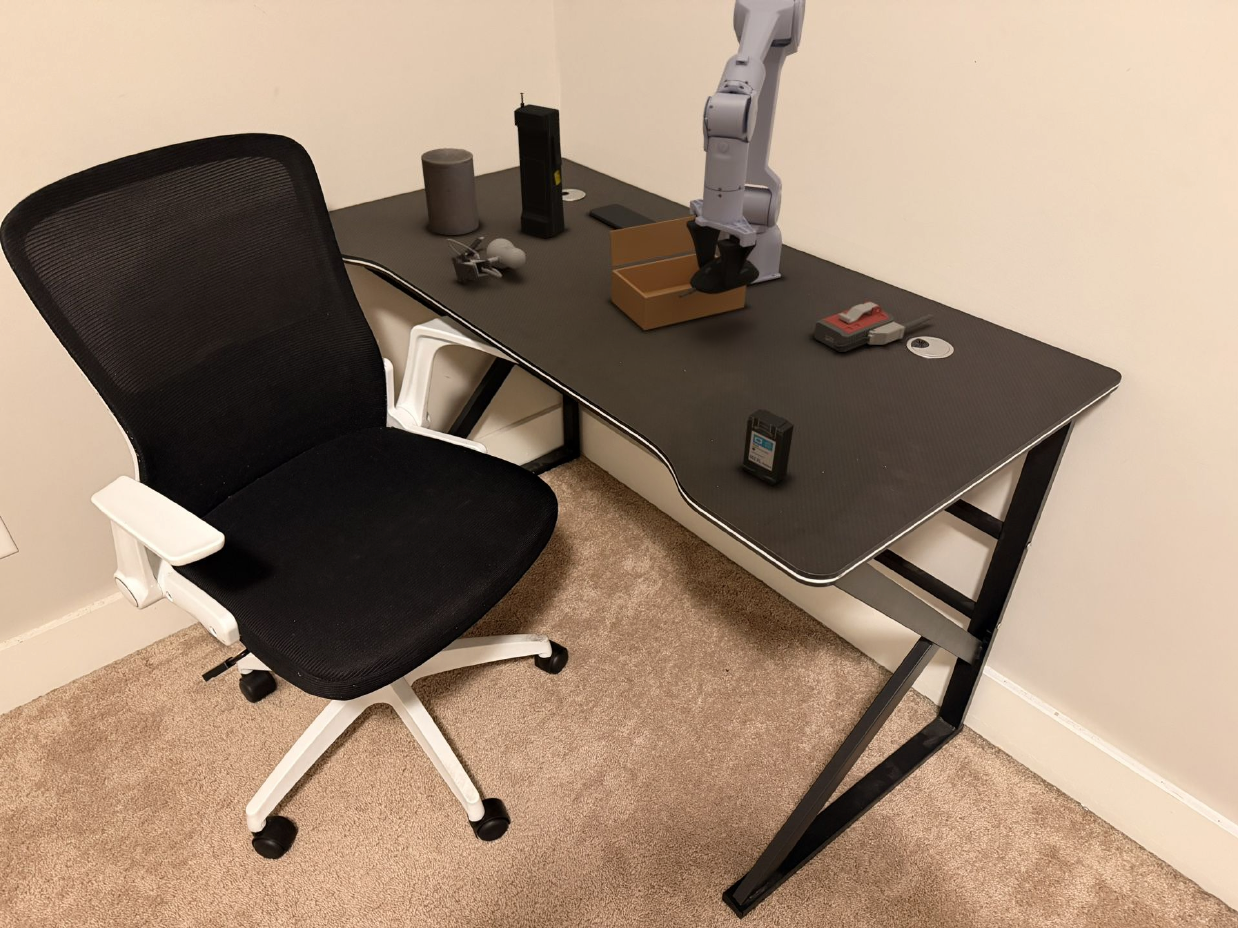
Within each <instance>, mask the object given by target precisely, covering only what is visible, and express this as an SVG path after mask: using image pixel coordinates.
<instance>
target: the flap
mask: <svg viewBox="0 0 1238 928" xmlns="http://www.w3.org/2000/svg"><path fill="white" fill-rule="evenodd" d="M695 216H696V215H690V216H687V217H681V218H676V219H670V220H664V221H658V222H657V223H653V224H647V225H642V226H636V227H630V228H625V229H615V230H610V231H609V243H610V244H609V245H610V263H611V267H616V266H622V265H627V264H632V263H637V262H642V261H647V260H652V259H657V258H662V257H667V256H671V255H672V256H673V255H677V254H683V253H687V252H692V251H695V246H694V243H693V239H692V237H691V234H690V232H689V230H688V228H687V226H686V223H687V221H690V220H694V218H695Z"/></svg>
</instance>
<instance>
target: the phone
mask: <svg viewBox="0 0 1238 928" xmlns="http://www.w3.org/2000/svg"><path fill="white" fill-rule="evenodd" d="M589 215H590V216H591V217H594V218H596V219H598V220H599V221H601V222H604V223H606V224H607V225H610V226H611V227H614V228H615V229H616V230H619V229H625V228H630V227H636V226H642V225H647V224H653V223H658V222H657V221H655V220H653V219H651V218H649V217H648V216H644V215H642V214H641V213H638V212H636V211H634V210H632V209H630V208H628V207H626V206H624V205H622V204H620V203H612V204H608V205H603V206H598V207H595V208H591V209H589Z"/></svg>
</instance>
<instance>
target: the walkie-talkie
mask: <svg viewBox="0 0 1238 928" xmlns="http://www.w3.org/2000/svg"><path fill="white" fill-rule="evenodd" d="M933 319H934V316H933V314H931V313H928V314H926V315H924V316H921V317H919V318H916V319H914V320H911V321H909V322H905V323H900V324H899V323H897V322H896V321H895V317H894V316H893V314H890V313H889V312H887V311H884V310H883V308H882V306H881V305H878V304H876V303H874V302H872V301H870V300H868V301H865V302H863V303H860V304H856V305H854V306H852V307H851V308H848V309H845V310H842V311H840V312H838V313H835V314H832V315H829V316H826V317H823V318H820V319H819V320H816V322H815V328H814V333H813V338H814V339H815V340H817V341H819V342H820V343H822V344H824V345H826V346H828V347H829V348H832V349H833V350H835V351H837V352H840V353H841V352H842V353H845V352H848V351H851V350H853V349H856V348H858V347H861V346H863V345H866V344H868V345H886V344H888V343H892V342H893V341H896V340H901V339H903V337H904V334H905V332H907V331H908V330H911V329H914V328H917V327H918V326H921V325H923V324H924V323H927V322H928V321H930V320H933Z"/></svg>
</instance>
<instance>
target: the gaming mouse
mask: <svg viewBox="0 0 1238 928" xmlns="http://www.w3.org/2000/svg"><path fill="white" fill-rule="evenodd" d="M758 277H759V271H758V269H757V268H756V267H755V266H754V265H753V264H752V263H751V262H750V261H749V260H746V261H745V263H744V265H743V268H742V270H741V273H740V276H739V278H738V281H737V284H735V285H730V286H724V285H723V284H722V263H721V256H720V255H719V256H718V257H717V258H714V259H712V260H711V261H710V262H708V263H707V264H705V265H704V266H702V267H701V268H700V269H699V270H698V271H697V272H696V273H695V274H694V275H693V277H692V278H691V279H690V285H691V286H692V288H693V289H690V290H688V292H686V293H684V294H681V295H679V297H680V298H681V297H684V296H686V295H688V294H692V293H694V292H696V291H699V292H702V293H706V294H720V293H723V292H727V291H730V290H733V289H736V288H739V287H742V286H746V287H747V286H749V285H752V284H751V283H752V282H753V281H755V280H756V279H758Z"/></svg>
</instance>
